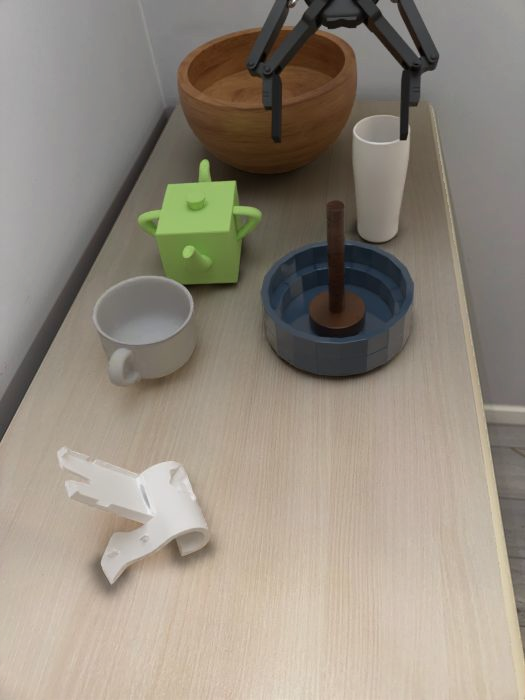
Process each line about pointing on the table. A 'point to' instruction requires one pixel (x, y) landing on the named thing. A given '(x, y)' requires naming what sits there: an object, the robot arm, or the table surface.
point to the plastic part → (138, 507)
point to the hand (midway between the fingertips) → (339, 139)
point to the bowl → (247, 108)
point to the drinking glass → (379, 175)
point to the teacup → (145, 328)
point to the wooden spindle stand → (336, 286)
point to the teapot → (201, 230)
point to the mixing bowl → (360, 278)
